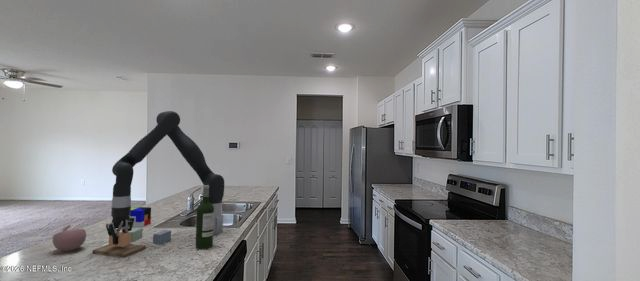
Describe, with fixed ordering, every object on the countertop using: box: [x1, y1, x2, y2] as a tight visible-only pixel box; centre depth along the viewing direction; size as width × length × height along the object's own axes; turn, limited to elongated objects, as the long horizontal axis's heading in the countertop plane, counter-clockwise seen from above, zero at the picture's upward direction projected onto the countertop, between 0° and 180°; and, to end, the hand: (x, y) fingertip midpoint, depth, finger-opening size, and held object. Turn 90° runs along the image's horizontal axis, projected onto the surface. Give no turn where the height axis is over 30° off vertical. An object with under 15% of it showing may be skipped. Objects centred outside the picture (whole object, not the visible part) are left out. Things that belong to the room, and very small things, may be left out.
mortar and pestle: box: [52, 224, 87, 252], centre depth 143 cm, size 12×12×11 cm
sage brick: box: [128, 227, 144, 243], centre depth 161 cm, size 8×4×5 cm, turn 177°
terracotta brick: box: [108, 231, 132, 247], centre depth 144 cm, size 8×4×5 cm, turn 77°
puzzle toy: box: [129, 206, 152, 229], centre depth 188 cm, size 10×10×10 cm
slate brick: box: [152, 229, 172, 245], centre depth 159 cm, size 8×4×5 cm, turn 167°
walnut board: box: [92, 243, 147, 259], centre depth 144 cm, size 17×12×2 cm
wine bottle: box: [195, 185, 214, 250], centre depth 154 cm, size 8×8×30 cm
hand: (120, 242), depth 144 cm, fingers closed on terracotta brick, 4 cm apart
